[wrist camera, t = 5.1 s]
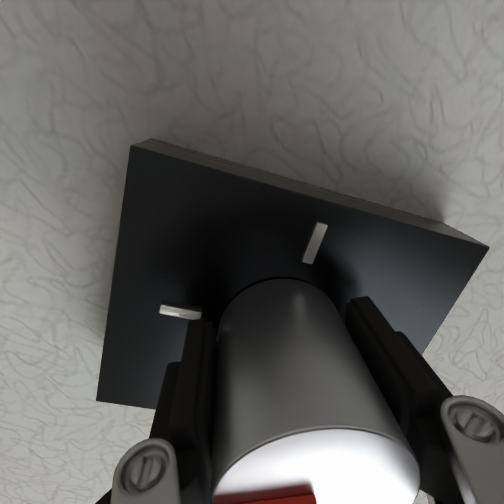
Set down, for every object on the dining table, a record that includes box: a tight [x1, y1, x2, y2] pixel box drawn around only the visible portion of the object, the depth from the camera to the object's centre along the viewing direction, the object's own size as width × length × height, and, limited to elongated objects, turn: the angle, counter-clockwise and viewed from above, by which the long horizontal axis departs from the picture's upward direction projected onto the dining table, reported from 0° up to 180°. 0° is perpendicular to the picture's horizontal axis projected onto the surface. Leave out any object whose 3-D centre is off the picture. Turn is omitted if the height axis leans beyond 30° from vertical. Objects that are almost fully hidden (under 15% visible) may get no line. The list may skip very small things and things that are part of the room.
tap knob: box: [210, 279, 421, 504], centre depth 9 cm, size 4×4×6 cm
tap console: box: [96, 139, 490, 410], centre depth 13 cm, size 12×10×3 cm
